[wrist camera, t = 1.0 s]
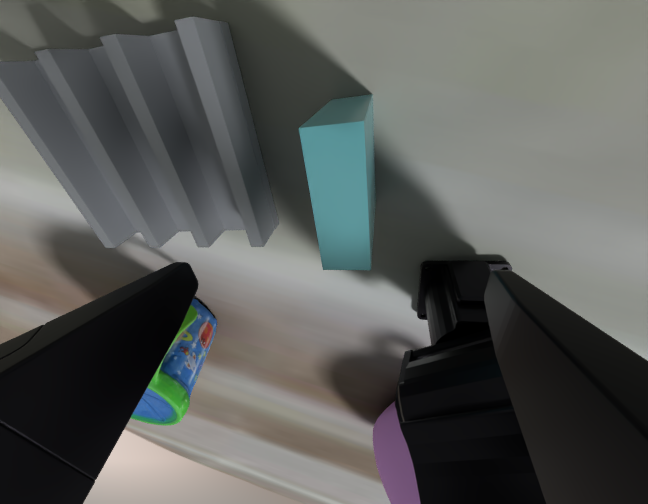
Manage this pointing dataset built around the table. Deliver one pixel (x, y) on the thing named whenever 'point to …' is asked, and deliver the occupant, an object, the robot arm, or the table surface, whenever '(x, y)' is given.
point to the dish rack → (148, 134)
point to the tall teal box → (342, 180)
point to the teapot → (394, 459)
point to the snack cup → (178, 370)
